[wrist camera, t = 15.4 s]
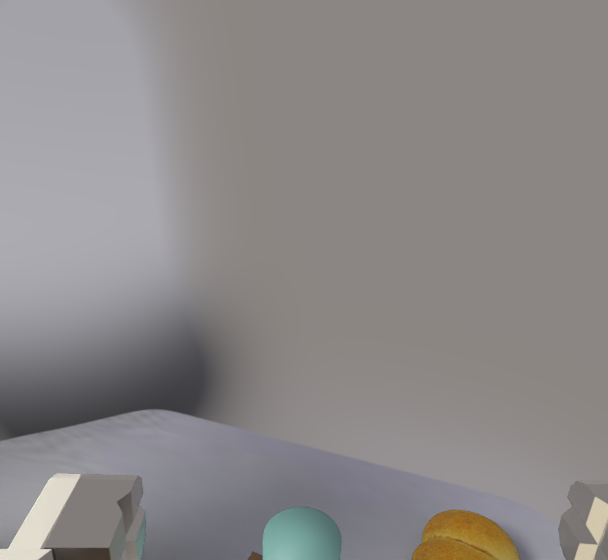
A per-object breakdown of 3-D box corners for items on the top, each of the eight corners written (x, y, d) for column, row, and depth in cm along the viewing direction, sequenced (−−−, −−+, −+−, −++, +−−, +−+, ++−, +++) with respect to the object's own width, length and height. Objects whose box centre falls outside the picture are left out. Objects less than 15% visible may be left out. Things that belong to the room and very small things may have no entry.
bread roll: (399, 593, 41) (405, 556, 39) (433, 517, 48) (438, 483, 46) (507, 649, 37) (518, 611, 35) (526, 557, 44) (536, 523, 43)
